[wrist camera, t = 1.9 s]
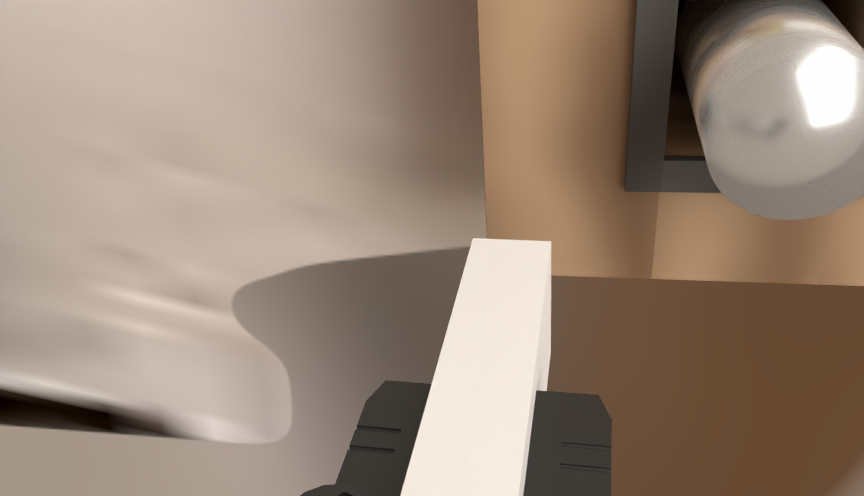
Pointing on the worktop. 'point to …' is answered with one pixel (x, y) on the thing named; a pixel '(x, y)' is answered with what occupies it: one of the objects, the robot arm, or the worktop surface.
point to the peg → (776, 103)
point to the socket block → (628, 153)
